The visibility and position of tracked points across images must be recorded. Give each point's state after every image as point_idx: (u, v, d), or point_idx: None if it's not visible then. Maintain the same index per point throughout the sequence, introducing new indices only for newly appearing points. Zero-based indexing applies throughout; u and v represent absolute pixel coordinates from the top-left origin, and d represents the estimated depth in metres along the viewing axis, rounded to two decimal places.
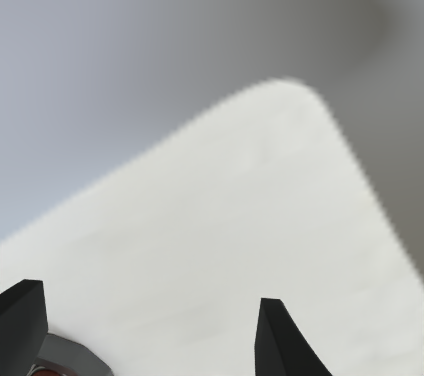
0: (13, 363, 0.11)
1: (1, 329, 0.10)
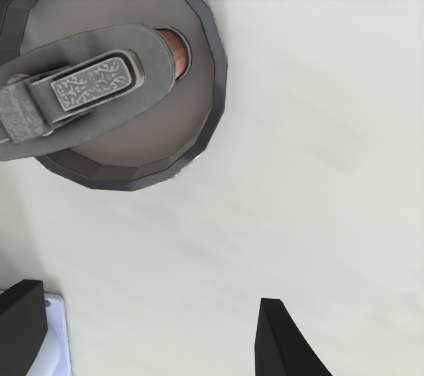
0: (13, 363, 0.11)
1: (1, 329, 0.10)
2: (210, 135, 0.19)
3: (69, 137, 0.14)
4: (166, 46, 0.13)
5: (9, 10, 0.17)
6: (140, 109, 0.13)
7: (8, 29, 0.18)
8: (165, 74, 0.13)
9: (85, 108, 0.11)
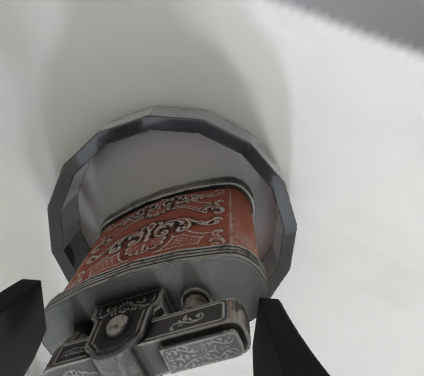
0: (11, 363, 0.11)
1: None
2: (274, 290, 0.19)
3: None
4: (263, 274, 0.12)
5: (75, 174, 0.17)
6: None
7: (72, 188, 0.18)
8: None
9: None
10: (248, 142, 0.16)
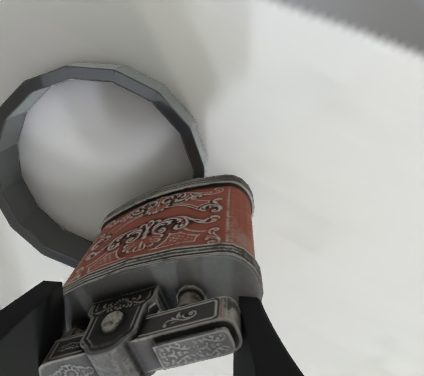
0: (35, 365, 0.11)
1: (24, 331, 0.10)
2: None
3: None
4: (257, 273, 0.12)
5: (8, 121, 0.19)
6: None
7: (7, 134, 0.20)
8: None
9: None
10: (156, 90, 0.18)
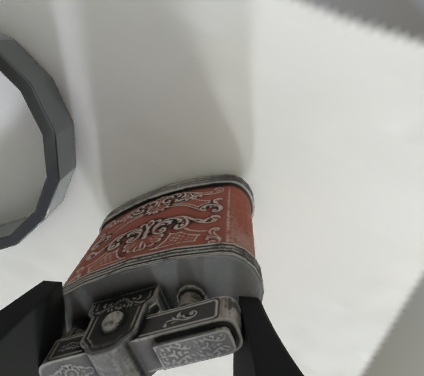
0: (35, 365, 0.11)
1: (24, 331, 0.10)
2: (49, 204, 0.18)
3: None
4: (257, 273, 0.12)
5: None
6: None
7: None
8: (254, 296, 0.13)
9: None
10: None
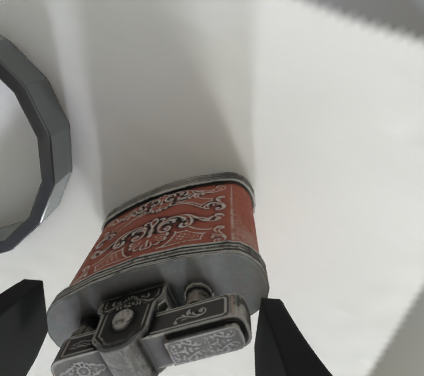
0: (13, 363, 0.11)
1: (1, 329, 0.10)
2: (44, 208, 0.18)
3: None
4: (263, 270, 0.13)
5: None
6: None
7: None
8: (259, 293, 0.13)
9: None
10: None
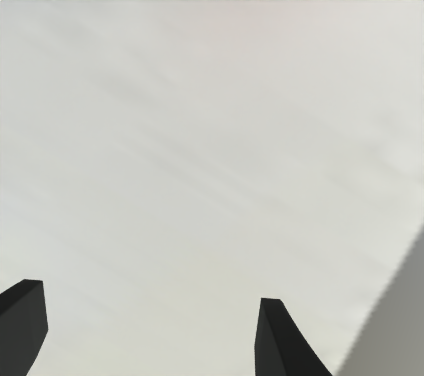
0: (13, 363, 0.11)
1: (1, 329, 0.10)
2: None
3: None
4: None
5: None
6: None
7: None
8: None
9: None
10: None
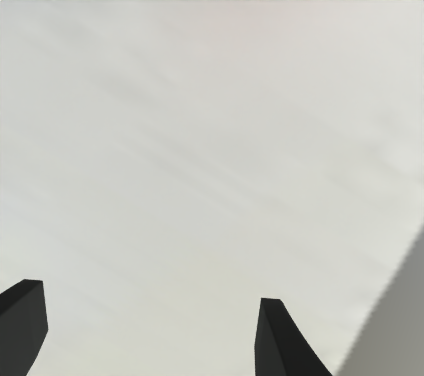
0: (13, 363, 0.11)
1: (1, 329, 0.10)
2: None
3: None
4: None
5: None
6: None
7: None
8: None
9: None
10: None
